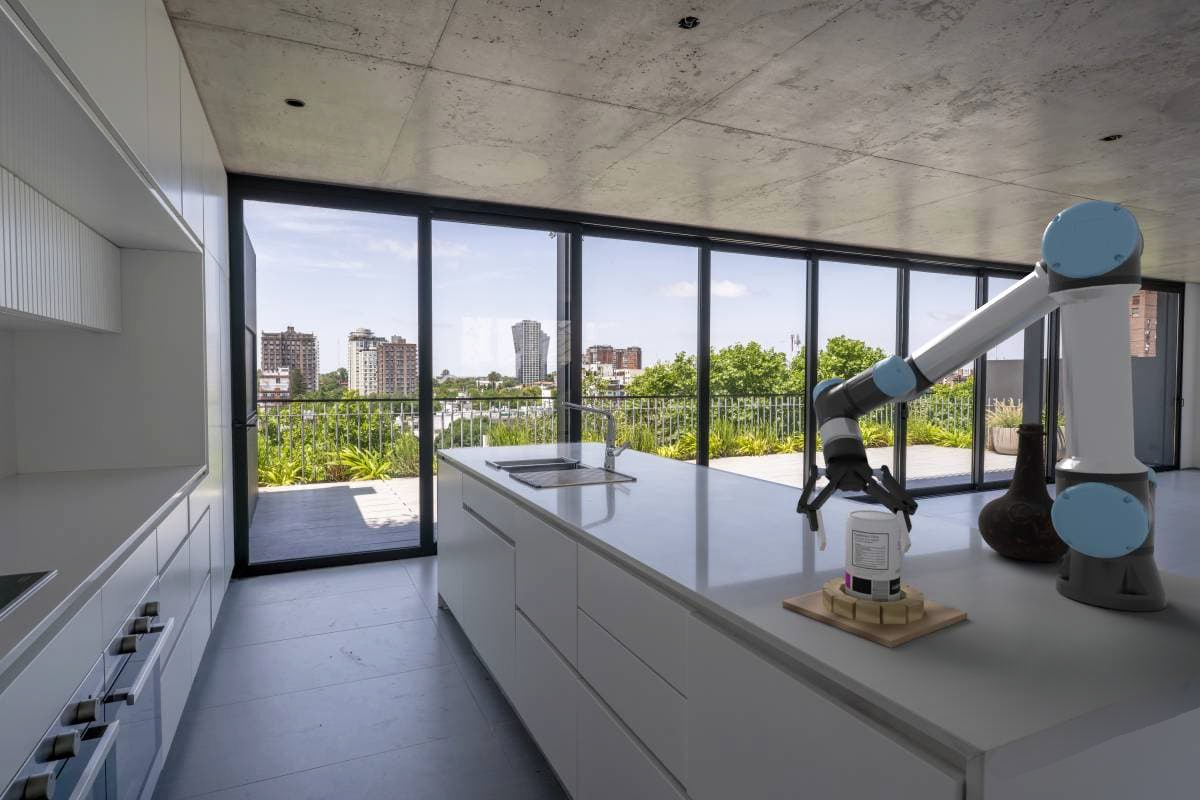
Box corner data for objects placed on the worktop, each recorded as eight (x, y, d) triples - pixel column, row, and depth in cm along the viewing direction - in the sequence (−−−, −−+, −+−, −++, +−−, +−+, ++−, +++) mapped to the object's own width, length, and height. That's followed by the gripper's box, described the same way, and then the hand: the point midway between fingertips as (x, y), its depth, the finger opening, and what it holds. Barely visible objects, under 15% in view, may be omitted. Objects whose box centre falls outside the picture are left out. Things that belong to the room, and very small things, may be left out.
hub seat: (967, 618, 105) (967, 596, 105) (890, 647, 94) (890, 623, 94) (858, 584, 122) (858, 566, 122) (782, 606, 111) (782, 585, 111)
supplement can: (834, 600, 111) (835, 511, 110) (876, 595, 113) (876, 508, 113) (867, 617, 103) (868, 522, 102) (911, 611, 105) (912, 518, 105)
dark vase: (966, 556, 139) (968, 423, 138) (992, 540, 152) (993, 419, 151) (1068, 574, 126) (1071, 428, 125) (1087, 555, 139) (1090, 422, 138)
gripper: (906, 460, 127) (936, 560, 113) (773, 459, 130) (786, 556, 116) (917, 435, 121) (949, 537, 107) (777, 435, 124) (791, 534, 110)
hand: (864, 547), depth 111 cm, fingers open, 13 cm apart
